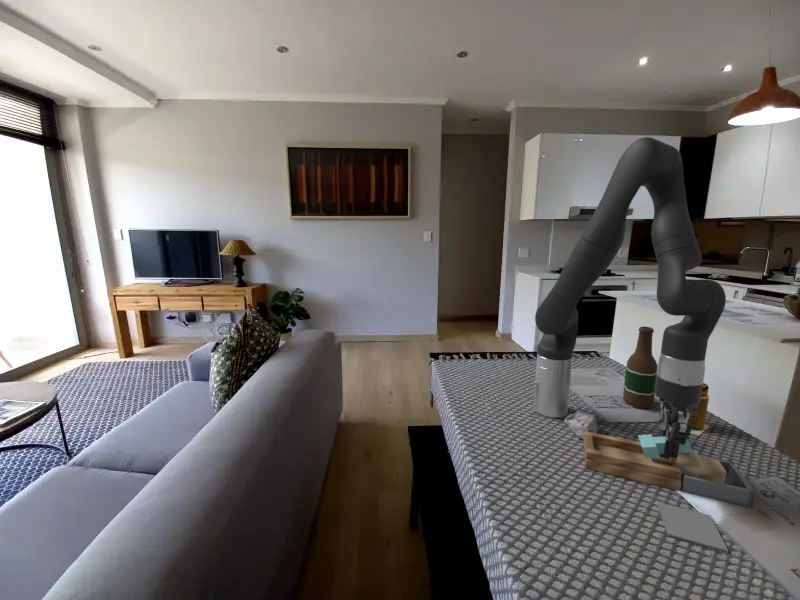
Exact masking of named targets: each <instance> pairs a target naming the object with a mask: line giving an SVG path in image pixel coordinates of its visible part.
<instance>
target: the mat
mask: <svg viewBox="0 0 800 600" xmlns="http://www.w3.org/2000/svg"><path fill="white" fill-rule="evenodd" d="M656 505H657V508H658V511H659V513H660V516H661V520H662V522H663V526H664V528H665V532H666V533H667V536H668V537H671V538H675V539H678V540H681V541H684V542H688V543H692V544H696V545H698V546H703V547H707V548H709V549H714V550H717V551H721V552H724V553H727V554H728V553H729V549H728V547H727V544H726V543H725V542H724V539H723V537H722V536H721V533H720V532H719V530H718V527H717V525H716V524H715V522H714V520H713V518H712V516H711V515H710V514H706V513H704V512H698V511H695V510H692V509H687V508H683V507H679V506H675V505H671V504H667V503H663V502H659V501H657V502H656Z"/></svg>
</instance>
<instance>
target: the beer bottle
mask: <svg viewBox="0 0 800 600" xmlns="http://www.w3.org/2000/svg"><path fill="white" fill-rule="evenodd" d="M653 333H655V330H654V328H653V327H650V326H640V327H639V328H638V337H637V338H638V339H637V343H636V347H635V350H634V352H633V353H632V354H631V355H630V356H629V358H628V360H627V362H626V367H625V375H624V376H625V377H624V384H623V393H622V396H623V397H622V400H623V401H624V403H625V404H626V405H628V406H631V407H632V408H635V409H640V410H641V409H643V410H647V409H648V410H649V409H650V408H652V407H653V406H654V402H655V395H656V394H655V392H654V390H655V382H656V374H657V366H658V362H657V361H656V359H655V358H654V355H653Z"/></svg>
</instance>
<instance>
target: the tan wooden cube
mask: <svg viewBox="0 0 800 600" xmlns="http://www.w3.org/2000/svg"><path fill="white" fill-rule="evenodd" d="M699 455H700V454H699V453H698V452H697V450H695V449H692V452H691V453H678V457H677V458H672V457H670V458H669V462H670V464H671V466H672V467H677V468H680V470H681V472H682V474H683V475H687V476H691V477H696V478H698V476H699V472H700V468H701V464H702V460H701V458H700V457H699Z"/></svg>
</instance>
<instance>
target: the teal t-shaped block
mask: <svg viewBox="0 0 800 600" xmlns="http://www.w3.org/2000/svg"><path fill="white" fill-rule="evenodd" d="M637 436H638V437H637V438H638V440H639V441H638V442H640V444H641V447H642V450H643V452H644V455H645V458H660V456H659V454H664V449H665V441H666V436H664V437H661V436H653V434H651V433H649V434H640V435H639V434H638V435H637ZM692 450H693V449H692V446H691V442H690V440H689V437H688V438H687V441H686V443H685V445H682V444H679V451H678V453H691V452H692Z"/></svg>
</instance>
